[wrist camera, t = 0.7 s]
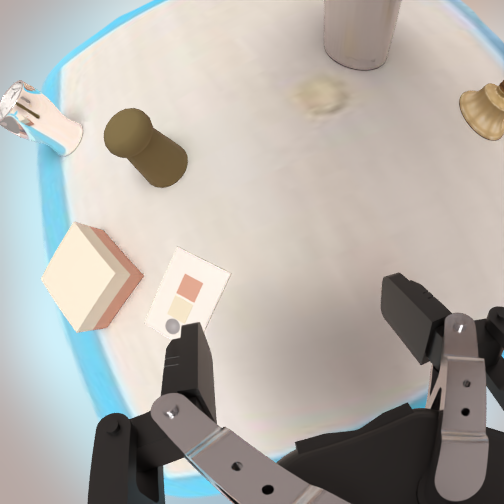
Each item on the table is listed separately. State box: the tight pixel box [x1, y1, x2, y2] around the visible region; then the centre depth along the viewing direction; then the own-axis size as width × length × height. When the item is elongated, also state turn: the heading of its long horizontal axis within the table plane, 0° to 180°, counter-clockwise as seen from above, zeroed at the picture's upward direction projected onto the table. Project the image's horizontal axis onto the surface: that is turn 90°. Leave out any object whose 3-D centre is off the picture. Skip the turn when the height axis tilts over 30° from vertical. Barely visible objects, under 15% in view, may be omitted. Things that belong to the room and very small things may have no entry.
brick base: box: [41, 222, 144, 333], centre depth 32 cm, size 9×9×6 cm
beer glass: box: [0, 80, 83, 156], centre depth 32 cm, size 7×7×15 cm
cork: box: [104, 108, 188, 188], centre depth 30 cm, size 6×6×11 cm
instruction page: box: [144, 247, 231, 340], centre depth 33 cm, size 10×7×1 cm
